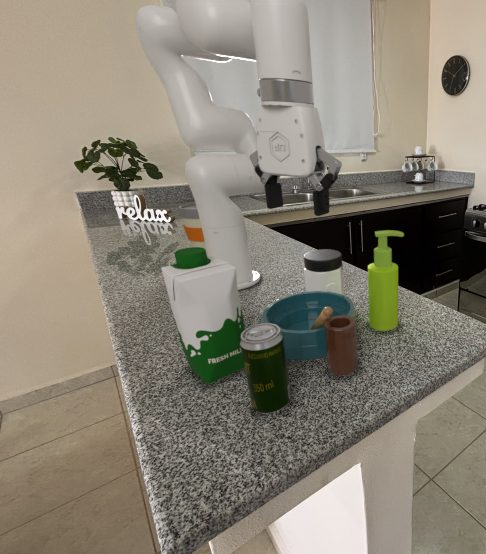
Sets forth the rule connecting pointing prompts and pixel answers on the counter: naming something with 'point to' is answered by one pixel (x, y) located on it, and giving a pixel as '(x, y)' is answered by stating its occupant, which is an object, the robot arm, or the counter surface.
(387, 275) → the soap dispenser
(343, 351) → the utensil cup
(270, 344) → the beer can
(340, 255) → the jar
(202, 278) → the milk carton
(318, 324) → the stick
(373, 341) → the counter surface
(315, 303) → the bowl
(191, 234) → the reusable coffee cup
